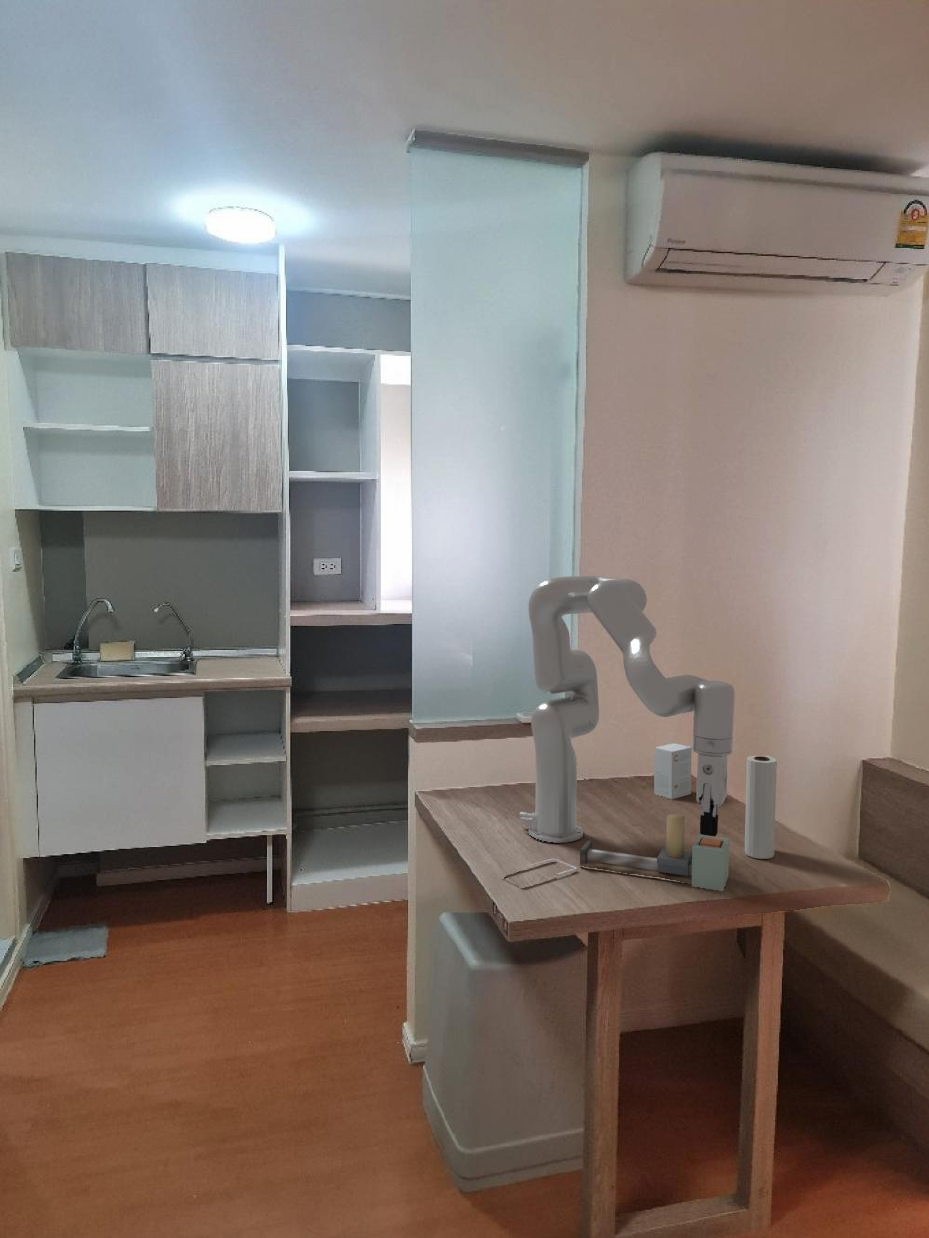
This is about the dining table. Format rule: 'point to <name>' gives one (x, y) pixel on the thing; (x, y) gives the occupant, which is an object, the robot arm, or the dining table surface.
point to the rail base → (626, 863)
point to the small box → (672, 770)
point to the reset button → (711, 842)
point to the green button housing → (710, 864)
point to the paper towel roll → (760, 806)
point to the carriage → (674, 848)
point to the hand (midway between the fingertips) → (708, 834)
